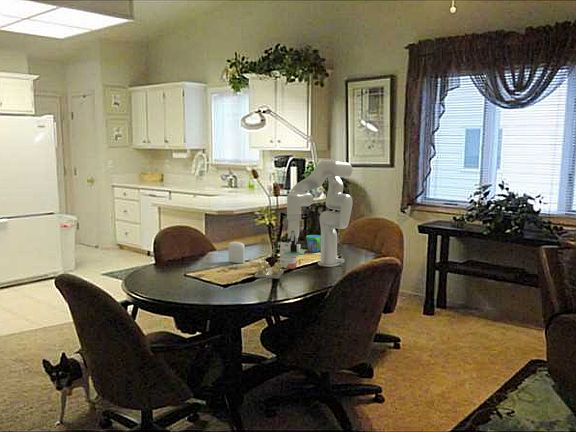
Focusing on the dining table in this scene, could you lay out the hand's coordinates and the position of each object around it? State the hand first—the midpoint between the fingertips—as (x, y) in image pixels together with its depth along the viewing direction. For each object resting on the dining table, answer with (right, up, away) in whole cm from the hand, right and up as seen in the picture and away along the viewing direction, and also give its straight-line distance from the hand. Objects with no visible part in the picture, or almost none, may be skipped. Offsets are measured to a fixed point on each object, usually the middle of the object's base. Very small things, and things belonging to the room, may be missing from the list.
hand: (294, 250), depth 300 cm
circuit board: (0, -2, 0) cm, 1 cm away
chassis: (-13, -13, +4) cm, 19 cm away
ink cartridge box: (-3, -11, +21) cm, 24 cm away
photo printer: (-34, -9, +32) cm, 48 cm away
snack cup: (+14, -5, +66) cm, 68 cm away
